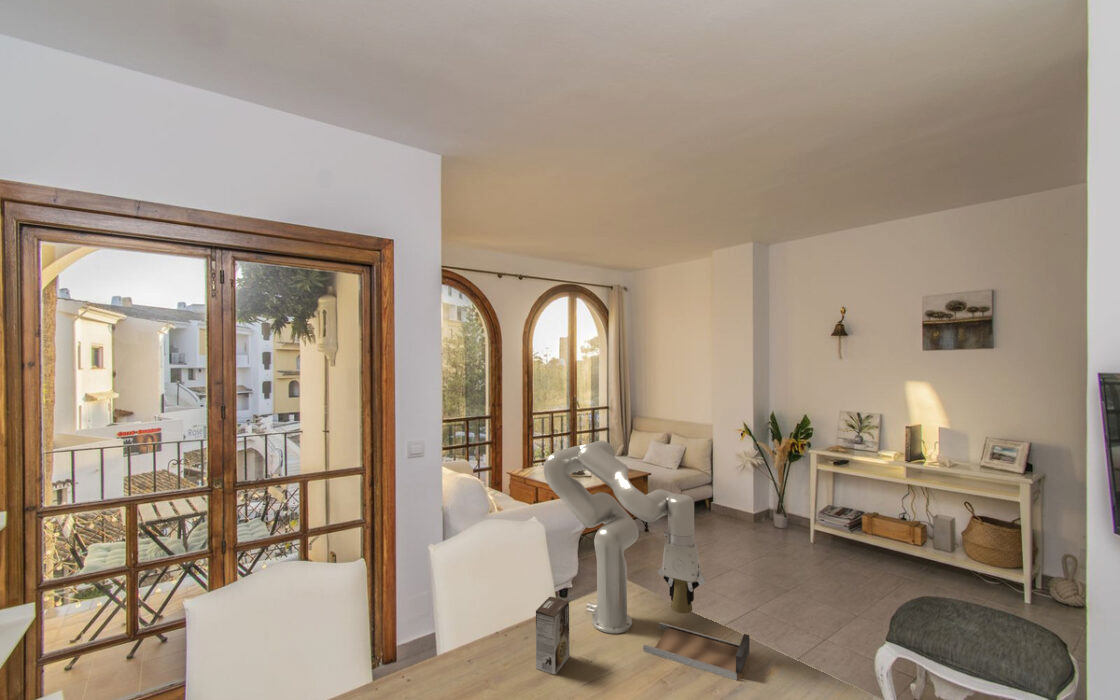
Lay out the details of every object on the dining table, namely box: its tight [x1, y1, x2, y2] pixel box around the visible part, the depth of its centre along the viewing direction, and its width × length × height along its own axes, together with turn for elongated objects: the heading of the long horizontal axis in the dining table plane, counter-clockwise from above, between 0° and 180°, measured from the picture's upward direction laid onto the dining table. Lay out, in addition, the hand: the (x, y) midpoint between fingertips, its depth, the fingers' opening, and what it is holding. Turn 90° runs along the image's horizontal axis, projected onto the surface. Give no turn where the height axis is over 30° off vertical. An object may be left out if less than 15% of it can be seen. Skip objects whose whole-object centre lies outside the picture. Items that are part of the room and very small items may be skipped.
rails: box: [642, 622, 740, 681], centre depth 146 cm, size 26×15×2 cm, turn 60°
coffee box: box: [535, 596, 570, 675], centre depth 141 cm, size 9×6×16 cm
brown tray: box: [654, 628, 751, 679], centre depth 145 cm, size 24×12×6 cm, turn 60°
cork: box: [670, 579, 693, 614], centre depth 148 cm, size 6×6×11 cm
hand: (681, 600), depth 148 cm, fingers closed on cork, 4 cm apart
